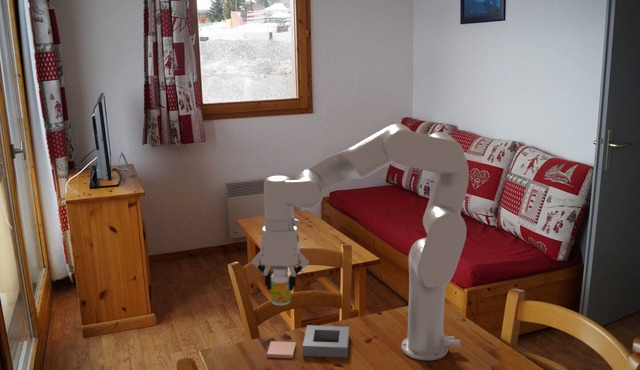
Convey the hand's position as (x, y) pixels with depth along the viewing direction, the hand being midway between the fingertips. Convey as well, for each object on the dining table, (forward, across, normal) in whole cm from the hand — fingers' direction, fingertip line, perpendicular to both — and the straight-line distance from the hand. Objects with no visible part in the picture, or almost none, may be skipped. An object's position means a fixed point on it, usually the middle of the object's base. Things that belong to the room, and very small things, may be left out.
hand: (280, 287), depth 172 cm
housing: (+19, -12, -4) cm, 23 cm away
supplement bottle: (+4, 0, 0) cm, 4 cm away
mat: (+19, 0, 0) cm, 19 cm away
